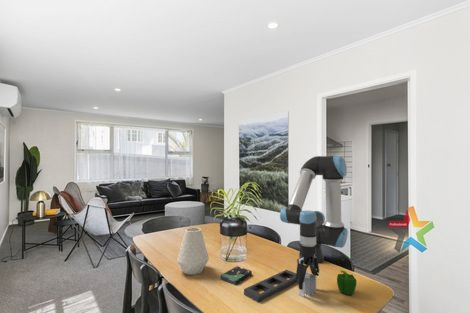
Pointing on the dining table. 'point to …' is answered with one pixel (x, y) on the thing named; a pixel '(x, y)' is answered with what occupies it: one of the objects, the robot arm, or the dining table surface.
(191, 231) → the vase
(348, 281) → the bell pepper
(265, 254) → the dining table surface
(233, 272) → the disk drive
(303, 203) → the robot arm
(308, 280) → the block
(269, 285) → the rail
